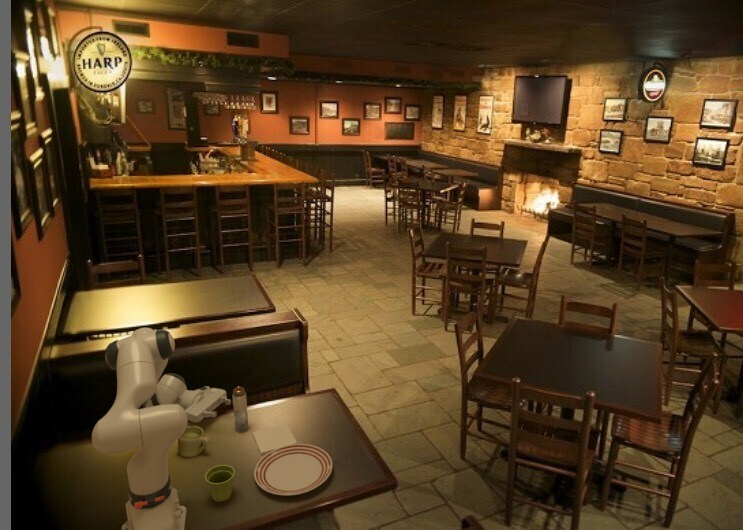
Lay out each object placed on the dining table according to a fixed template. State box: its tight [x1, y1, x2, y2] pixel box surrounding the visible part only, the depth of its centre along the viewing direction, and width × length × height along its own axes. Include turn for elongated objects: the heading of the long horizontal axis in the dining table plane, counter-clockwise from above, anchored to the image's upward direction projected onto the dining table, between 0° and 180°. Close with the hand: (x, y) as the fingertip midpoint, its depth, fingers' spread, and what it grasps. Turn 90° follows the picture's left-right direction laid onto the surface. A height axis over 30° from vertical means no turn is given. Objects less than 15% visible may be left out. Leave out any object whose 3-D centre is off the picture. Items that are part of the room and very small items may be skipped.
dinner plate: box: [253, 443, 333, 497], centre depth 181 cm, size 28×27×3 cm
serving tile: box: [252, 423, 298, 456], centre depth 199 cm, size 14×14×1 cm
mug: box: [177, 425, 211, 458], centre depth 191 cm, size 12×10×10 cm
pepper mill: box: [232, 385, 249, 434], centre depth 204 cm, size 5×5×20 cm
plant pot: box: [204, 464, 235, 503], centre depth 169 cm, size 9×9×9 cm
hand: (222, 408), depth 207 cm, fingers open, 8 cm apart
